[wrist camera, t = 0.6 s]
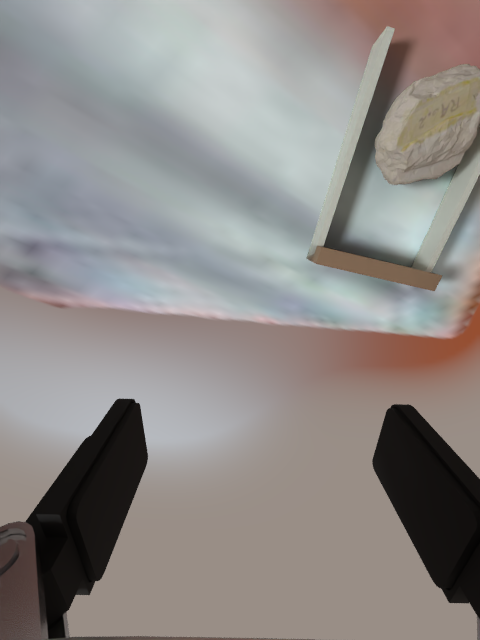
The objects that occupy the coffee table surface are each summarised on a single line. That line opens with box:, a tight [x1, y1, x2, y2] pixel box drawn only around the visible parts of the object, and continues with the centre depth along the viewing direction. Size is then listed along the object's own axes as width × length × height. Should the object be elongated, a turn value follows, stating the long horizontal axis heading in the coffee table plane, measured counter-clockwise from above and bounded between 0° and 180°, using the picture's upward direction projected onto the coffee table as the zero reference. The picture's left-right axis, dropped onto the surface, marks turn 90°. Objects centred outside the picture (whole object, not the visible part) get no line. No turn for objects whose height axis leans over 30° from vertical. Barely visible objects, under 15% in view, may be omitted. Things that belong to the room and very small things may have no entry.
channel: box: [307, 26, 480, 291], centre depth 30 cm, size 23×16×5 cm
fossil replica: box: [375, 64, 480, 185], centre depth 27 cm, size 12×8×10 cm
